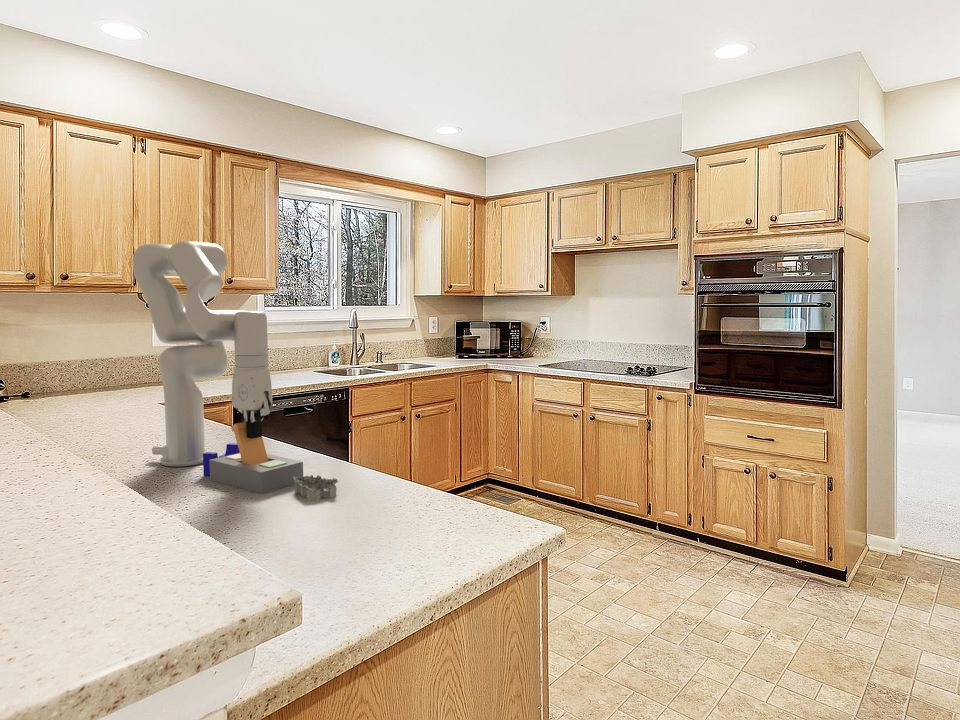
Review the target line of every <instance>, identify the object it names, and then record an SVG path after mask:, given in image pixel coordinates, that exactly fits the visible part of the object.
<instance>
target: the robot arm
mask: <svg viewBox="0 0 960 720" xmlns="http://www.w3.org/2000/svg"><path fill="white" fill-rule="evenodd" d="M227 266H228V255H227V254H226V252H225V250H224V248H223V247H221V246H220V245H218V244H216V243H215V242H214V243H211V242H203V241H192V240H183V241H182V240H181V241H178V242H175V243H174V244H168V243H147V244H143V245H140V246H138V247H137V248H136V249H135V251H134V253H133V255H132V272H133V275H134V278H135V281H136V282H137V285H138V287H139V289H140V290H141V292H142V293H143V296H144V298H145V300H146V302H147V306H148V310H149V313H150V314H149V315H150V317H151V321H152V324H153V328H154V331H155V333H156V336H157V338H158V340H159V341H160V342H161V343H164V344H167V345H175V344H176V345H175V346H172V347H167V348H166V349H164V350H163V351H162V352H161V353H160V355H159V358H158V368H159V372H160V376H161V381H162V387H163V397H164V398H163V400H164V402H163V403H164V421H165V427H164V428H165V445H164V446H153V447H152V448H151V452H152V455H156V456H158V455H161V456H162V457H161V458H160V460H159V461H160V462H159V463H160V465H162V466H165V467H176V468H177V467H193V466H196V465H197V466H198V465H202V464H203V453H206V446H205V445H206V444H205V415H204V397H203V392H202V391H201V390H200V388H199V387H198V386H197V385H196V383H195V381H199V380H206V379H207V380H208V379H216V378H220V377H222V376H223V375H224V374H225V373H226V372H227V370H228V366H229V365H228V364H229V363H228V355H227V352H226V349H225V345H224V342H227V341H231V342H232V341H233V343H234V362H235V363H234V369H233V373H232V382H231V405H232V407H233V408H235V409H236V410H237V411H238V412H240V413H241V414H242V415H243V418H244V422H246V432H247V438H251V439H253V438H258V437H261V436H262V437H263V426H262V425H263V424H262V421H264V416H267V415H270V413H271V412H270V408H272V406H273V389H272V388H273V387H272V378H271V373H270V368H269V347H268V346H269V345H268V342H269V341H268V339H269V338H268V317H267V313H266V312H264V311H260V310H240V309H213V310H212V309H209V308H208V307H207V306H206V305H205V302H207V301H209V300H211V299H212V298H215V297H216V296H217V295H219V293H220V292H221V290H222V288H223V284H224V283H223V279H222V277H221V274H223V273H224V272H225V271H226V270H227ZM165 276H170V277H171V276H172V277H179V279H180V280H181V282H182V284H183V285H184V286H185V288H186V289H187V291H188V292H187V294H186V297H185V300H184V303H183V299H182V297H181V293H180V291H179V290H178V289H177V287H175V286H174V285H173V283H171V281H170V280H168V279H166V278H165ZM180 344H181V345H180ZM183 344H187V345H183ZM189 344H190V345H189ZM191 344H192V345H191ZM194 344H195V345H194Z"/></svg>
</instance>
